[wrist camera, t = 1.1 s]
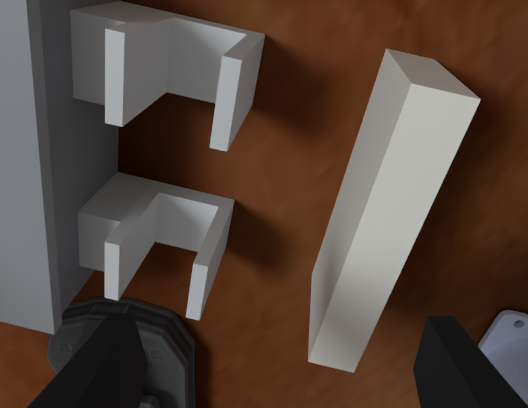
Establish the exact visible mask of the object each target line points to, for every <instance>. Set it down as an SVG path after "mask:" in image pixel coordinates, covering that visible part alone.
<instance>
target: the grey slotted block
mask: <svg viewBox="0 0 528 408" xmlns="http://www.w3.org/2000/svg"><path fill="white" fill-rule="evenodd" d="M264 39H265V34H262V33H258V32H253V31H249V30H245V29H240V28H236V27H232V26H227V25H223V24H219V23H214V22H210V21H206V20H202V19H197V18H193V17H189V16H184V15H180V14H176V13H171V12H167V11H163V10H158V9H154V8H150V7H145V6H141V5H137V4H132V3H128V2H124V1H121V0H0V321H1V322H5V323H9V324H13V325H17V326H21V327H25V328H29V329H33V330H37V331H42V332H46V333H50V334H54V335H55V333H56V332H57V330H58V329H59V328H60V326H61V325H62V317H61V315H62V313H63V312H64V311H65V309H66V308H67V307H68V306H69V304H70V303H71V302H72V300H73V299H74V298H75V296H76V295H77V294H78V292H79V291H80V290H81V288H82V287H83V286H84V284H85V283H86V282H87V281H88V279H89V278H90V277H91V275H92V274H93V273H94V271H95V270H99V271H103V272H105V298H108V299H113V300H117V301H118V300H119V299H120V297H121V295H122V294H123V292H124V291H125V289H126V287H127V286H128V284H129V283H130V281H131V279H132V278H133V276H134V274H135V273H136V271H137V270H138V268H139V266H140V265H141V263H142V262H143V260H144V258H145V257H146V255H147V254H148V252H149V250H150V249H151V247H152V246H153V244H154V242H158V243H163V244H167V245H171V246H175V247H179V248H183V249H188V250H192V251H196V252H198V254H197V256H196V258H195V261H194V263H193V269H192V276H191V283H190V291H189V298H188V305H187V312H186V317H187V318H191V319H195V320H200V317H201V315H202V312H203V309H204V306H205V304H206V301H207V298H208V295H209V292H210V290H211V287H212V284H213V281H214V279H215V276H216V273H217V270H218V267H219V265H220V262H221V259H222V256H223V254H224V251H225V248H226V244H227V239H228V233H229V228H230V222H231V217H232V212H233V206H234V201H235V200H234V199H229V198H225V197H221V196H217V195H213V194H208V193H204V192H200V191H196V190H192V189H187V188H183V187H179V186H175V185H171V184H166V183H162V182H158V181H154V180H150V179H145V178H141V177H137V176H133V175H129V174H124V173H120V172H118V138H119V126H120V127H123V126H124V125H126V124H127V123H128V122H129V121H131V120H132V119H133V118H134V117H136V116H137V115H138V114H139V113H141V112H142V111H143V110H145V109H146V108H147V107H148V106H150V105H151V104H152V103H153V102H155V101H156V100H157V99H158V98H160V97H161V96H162V95H164V94H165V93H166V92H168V93H173V94H177V95H181V96H185V97H190V98H194V99H198V100H202V101H207V102H211V103H215V112H214V119H213V126H212V133H211V140H210V147H209V148H213V149H218V150H222V151H226V152H227V151H228V149H229V147H230V145H231V143H232V141H233V140H234V138H235V136H236V134H237V132H238V130H239V128H240V127H241V125H242V123H243V121H244V119H245V117H246V115H247V114H248V112H249V110H250V108H251V106H252V104H253V98H254V93H255V88H256V82H257V77H258V71H259V66H260V61H261V55H262V50H263V44H264Z"/></svg>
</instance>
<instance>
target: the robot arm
mask: <svg viewBox="0 0 528 408" xmlns="http://www.w3.org/2000/svg"><path fill="white" fill-rule="evenodd" d="M518 320H520V321H519V322H516V321H518ZM147 368H148V362H147V359H146V355H145V352H144V349H143V345H142V342H141V338H140V335H139V332H138V328H137V325H136V321H135V318H134V315H133V313H109V314H108V315H107V316H106V317H105V318H104V319H103V320H102V321H101V323H100V324H99V325H98V326H97V327H96V329H95V330H94V331H93V332H92V333H91V335H90V336H89V337H88V338H87V339H86V341H85V342H84V343H83V344H82V345H81V347H80V348H79V349H78V350H77V351H76V353H75V354H74V355H73V356H72V357H71V358H70V360H69V361H68V362H67V363H66V364H65V365H64V367H63V368H62V369H61V370H60V371H59V372H58V373H57V375H56V376H55V377H54V378H53V379H52V380H51V381H50V382H49V384H48V385H47V386H46V387H45V388H44V389H43V390H42V392H41V393H40V394H39V395H38V396H37V397H36V398H35V399H34V400H33V401H32V402H31V403H30V404H29V406H28V407H27V408H139V406H140V401H141V397H142V392H143V388H144V383H145V378H146V373H147ZM413 370H414V376H415V381H416V386H417V392H418V396H419V401H420V406H421V408H528V314H525V313H521V312H517V311H513V310H505V311H502V312H500V313H499V314H498V316H497V317H496V319H495V320H494V322H493V323H492V325H491V326H490V328H489V329H488V331H487V332H486V334H485V335H484V337H483V338H482V340H481V341H480V343H479V344H478V346H477V345H476V343H475V342H474V341H473V340H472V338H471V337H470V336H469V335H468V333H467V332H466V331H465V330H464V328H463V327H462V326H461V325H460V323H459V322H458V321H457V320H456V319H455V318H454V317H453V316H427V319H426V323H425V327H424V330H423V334H422V338H421V342H420V345H419V349H418V353H417V356H416V360H415V364H414V367H413Z"/></svg>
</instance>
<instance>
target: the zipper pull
mask: <svg viewBox="0 0 528 408" xmlns="http://www.w3.org/2000/svg"><path fill="white" fill-rule="evenodd" d="M109 313H133V315H134V318H135V321H136V325H137V328H138V332H139V335H140V338H141V342H142V345H143V349H144V352H145V355H146V359H147V362H148V368H147V373H146V378H145V383H144V388H143V392H142V397H141V401H140V406H139V408H196V404H195V341H194V339H193V338H192V337H191V335H190V334H189V332H188V331H187V329H186V328H185V327H184V325H183V324H182V322H181V321H180V320H179V318H178V317H177V315H176V314H175V313H174V311H172V310H169V309H166V308H163V307H159V306H156V305H153V304H150V303H147V302H144V301H140V300H137V299H134V298H120V299H119V300H118V301H117V300H113V299H108V298H105V297H104V296H101V297H97V298H93V299H88V300H84V301H80V302H76V303H71V304H69V306H68V307H67V308H66V309H65V311H64V312H63V313H62V315H61V317H62V325H61V326H60V328H59V329H58V330H57V332H56V333H55V335H54V334H50V335H49V342H48V349H47V359H48V361H49V362H50V364H51V366H52V368H53V369H54V371H55V373H56V375H57V373H58V372H59V371H60V370H61V369H62V368H63V367H64V365H65V364H66V363H67V362H68V361H69V360H70V358H71V357H72V356H73V355H74V354H75V353H76V351H77V350H78V349H79V348H80V347H81V345H82V344H83V343H84V342H85V341H86V339H87V338H88V337H89V336H90V335H91V333H92V332H93V331H94V330H95V329H96V327H97V326H98V325H99V324H100V323H101V321H102V320H103V319H104V318H105V317H106V316H107V315H108V314H109Z"/></svg>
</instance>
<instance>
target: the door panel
mask: <svg viewBox="0 0 528 408" xmlns="http://www.w3.org/2000/svg"><path fill="white" fill-rule="evenodd" d="M480 101H481V99H480V98H479V97H478V96H476V95H475V94H474V93H473V92H472V91H471V90H469V89H468V88H467V87H466V86H465V85H464V84H462V83H461V82H460V81H459V80H458V79H457V78H456V77H454V76H453V75H452V74H451V73H450V72H449V71H447V70H446V69H445V68H444V67H443V66H442V65H440V64H439V63H438V62H437V61H436V60H434V59H430V58H425V57H421V56H417V55H412V54H408V53H404V52H399V51H395V50H391V49H386V51H385V54H384V57H383V60H382V63H381V66H380V69H379V72H378V75H377V78H376V81H375V84H374V88H373V91H372V94H371V97H370V100H369V103H368V106H367V109H366V112H365V115H364V118H363V121H362V124H361V127H360V130H359V133H358V136H357V139H356V142H355V145H354V148H353V151H352V154H351V157H350V160H349V163H348V167H347V170H346V173H345V176H344V179H343V182H342V185H341V188H340V191H339V194H338V197H337V200H336V203H335V206H334V209H333V212H332V215H331V218H330V221H329V224H328V227H327V230H326V233H325V236H324V239H323V242H322V246H321V249H320V252H319V255H318V258H317V261H316V264H315V267H314V270H313V273H312V285H311V306H310V327H309V348H308V362H312V363H316V364H320V365H324V366H328V367H332V368H336V369H341V370H345V371H349V372H353V373H354V371H355V369H356V367H357V365H358V363H359V360H360V358H361V356H362V354H363V352H364V350H365V347H366V345H367V343H368V341H369V339H370V337H371V335H372V332H373V330H374V328H375V326H376V324H377V322H378V320H379V317H380V315H381V313H382V311H383V309H384V307H385V305H386V302H387V300H388V298H389V296H390V294H391V292H392V290H393V287H394V285H395V283H396V281H397V279H398V277H399V274H400V272H401V270H402V268H403V266H404V264H405V262H406V259H407V257H408V255H409V253H410V251H411V249H412V247H413V244H414V242H415V240H416V238H417V236H418V234H419V232H420V229H421V227H422V225H423V223H424V221H425V219H426V217H427V214H428V212H429V210H430V208H431V206H432V204H433V202H434V199H435V197H436V195H437V193H438V191H439V189H440V186H441V184H442V182H443V180H444V178H445V176H446V174H447V171H448V169H449V167H450V165H451V163H452V161H453V159H454V156H455V154H456V152H457V150H458V148H459V146H460V144H461V141H462V139H463V137H464V135H465V133H466V131H467V129H468V126H469V124H470V122H471V120H472V118H473V116H474V113H475V111H476V109H477V107H478V105H479V103H480Z"/></svg>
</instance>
